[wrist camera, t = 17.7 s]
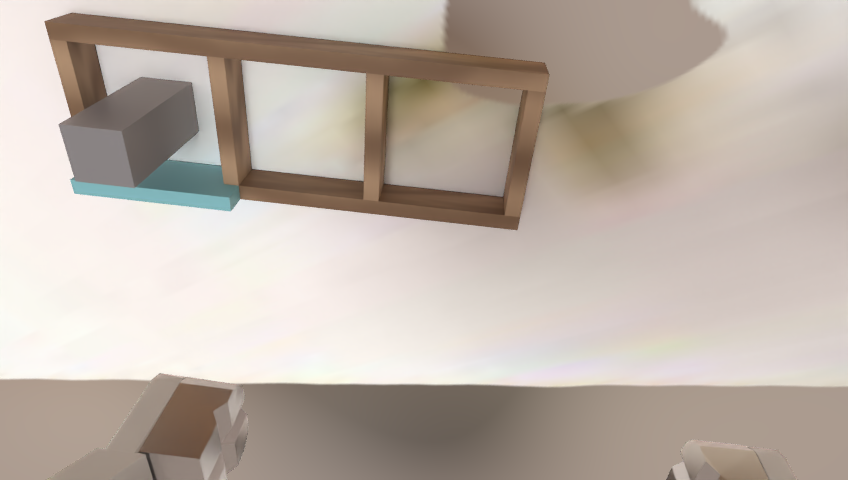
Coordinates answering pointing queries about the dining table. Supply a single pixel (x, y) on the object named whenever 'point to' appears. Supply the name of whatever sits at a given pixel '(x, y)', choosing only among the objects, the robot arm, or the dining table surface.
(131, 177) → the tall grey block
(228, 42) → the rack
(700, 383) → the dining table surface
